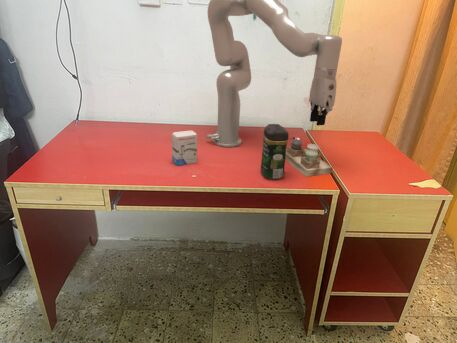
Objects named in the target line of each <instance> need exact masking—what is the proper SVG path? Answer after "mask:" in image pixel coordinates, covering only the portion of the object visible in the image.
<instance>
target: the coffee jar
mask: <svg viewBox="0 0 457 343" xmlns="http://www.w3.org/2000/svg"><path fill="white" fill-rule="evenodd" d="M262 138H263V140H262V152H261V162H260V172H261V174H262V175H263V177H264V178H265V179H268V180H269V179H270V180H280V179H282V178H284V175H285V166H286V165H285V164H286V160H285V156H286V151H287V148H288V142H289V131H288V130H287V129H286V128H285V126H284V127H283V126H282V125H280V124H278V123H269V124H267V125H266V126H265V127H264V131H263V137H262Z"/></svg>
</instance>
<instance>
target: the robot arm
mask: <svg viewBox="0 0 457 343" xmlns="http://www.w3.org/2000/svg"><path fill="white" fill-rule="evenodd" d="M249 15H255V16H256V17H257V18H258V19H260V20H261V21H262V22H263V23H264V24H265V25H266V26H267V27H268V28H270V30H271V32H272V33H273V35H274V36H275V39H277V41H278V42H279V43H280V44H281V45H282V46H283V47H284V48H285V49H287V50H288V51H289V52H290V53H291V54H292V55H294V56H296V57H298V58H305V57H310V56H316V59H315V65H314V73H313V78H312V81H311V84H310V85H311V86H310V90H309V97H308V98H309V99H308V102H309V104H310V117H309V122H310V123H311V122H313V123H314V122H316V126H317V127H318V126H325V124H326V117H327V116H328V115H329V113H330V112H331V111H333V107H334V106H335V101H336V96H337V79H336V78H337V72H338V67H339V61H340V55H341V51H342V44H343V38H342V37H341V36H339V35H333V34H324V35H323V34H320V33H315V32H303V31H302V30H301V29H300V28H299V27H298V26H297V25H296V24H294V22H292V20H291V19H290V17H289V9H288V7H287V6H285V5H284V4H282V2H281V1H279V0H209V2H208V7H207V21H208V24H209V29H210V32H211V33H210V34H211V38H212V40H211V41H212V45H213V51H214V56H215V61H216V63H217V64H218V65H219V66H221V67H230V68H229V69H226V70H223V71H222V72H220V73H219V75H218V76H217V78H216V90H217V124H216V125H217V130H216V131H214V132H213V133H212V134H211V133H209V134H206V136H205V137H206V140H209V139H210V140H211V141H213V143H214V144H215V145H217V146H219V147H225V148H232V147H233V148H234V147H238V146H240V145H242V141H243V140H242V139H241V138H240V137H239V131H240V117H241V116H240V115H241V99H240V93H239V92H240V91H243V90H245V89H247V88H248V87H249V86H250V84H251V82H252V72H251V66H250V65H251V64H250V59H249V52H248V49H247V47H246V45H245V44H244V43H243V42H242V41H240V40H235V37H234V30H233V27H232V24H231V22H230V20H229V17H243V16H249Z"/></svg>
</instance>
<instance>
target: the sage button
mask: <svg viewBox="0 0 457 343" xmlns="http://www.w3.org/2000/svg"><path fill="white" fill-rule="evenodd" d="M318 153H319V152H317V151H314V150H307V151H306V153H305V155H306V158H305V159H306V160H307V161H308V162H312V161H316V157H317V155H318Z"/></svg>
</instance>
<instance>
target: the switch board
mask: <svg viewBox="0 0 457 343" xmlns="http://www.w3.org/2000/svg"><path fill="white" fill-rule="evenodd" d="M291 146H292V145H291ZM291 146H287V147H286V156H285V162H288V163H289V164H290V165H291V166H292V167H293V168H294V169H296V170H297V171H298V172H299V173H300V174H301V175H303V176H304V178H306V177H313V176H321V175H329V174H332V170H333V167H332V165H330V164H328V163H327V162H326V161H324V160H323V159H321V158H322V157H321V156H322V154H321V153H319V152H318V155H317V157H316V161H312V162H308V161H307V160H306V159H305V158H306V155H305V153H306V151H307V148H306V149H304V148H302V147H301V150H295V151H294V150H293V149H292V148H291Z"/></svg>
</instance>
